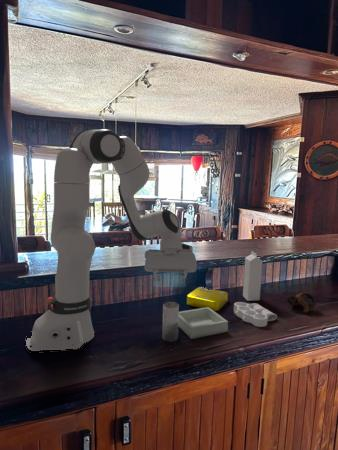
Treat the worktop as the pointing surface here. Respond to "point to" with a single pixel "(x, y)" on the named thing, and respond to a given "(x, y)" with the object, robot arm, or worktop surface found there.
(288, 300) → the turtle figurine
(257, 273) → the milk
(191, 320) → the sage bin
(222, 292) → the element tile
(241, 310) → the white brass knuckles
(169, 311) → the gray flashlight
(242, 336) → the worktop surface
